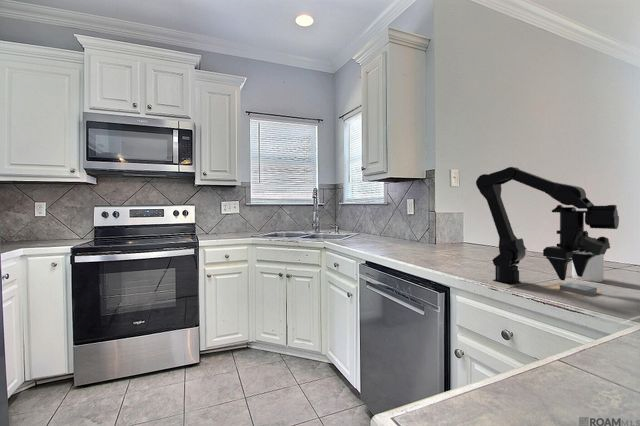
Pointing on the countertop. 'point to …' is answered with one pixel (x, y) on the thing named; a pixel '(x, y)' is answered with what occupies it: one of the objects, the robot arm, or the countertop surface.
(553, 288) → the cork mat
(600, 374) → the countertop surface
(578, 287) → the slate tile
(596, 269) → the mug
